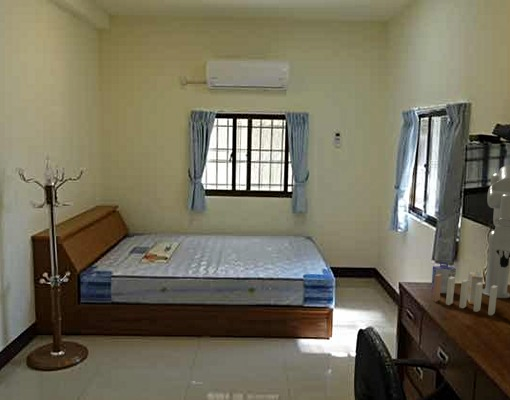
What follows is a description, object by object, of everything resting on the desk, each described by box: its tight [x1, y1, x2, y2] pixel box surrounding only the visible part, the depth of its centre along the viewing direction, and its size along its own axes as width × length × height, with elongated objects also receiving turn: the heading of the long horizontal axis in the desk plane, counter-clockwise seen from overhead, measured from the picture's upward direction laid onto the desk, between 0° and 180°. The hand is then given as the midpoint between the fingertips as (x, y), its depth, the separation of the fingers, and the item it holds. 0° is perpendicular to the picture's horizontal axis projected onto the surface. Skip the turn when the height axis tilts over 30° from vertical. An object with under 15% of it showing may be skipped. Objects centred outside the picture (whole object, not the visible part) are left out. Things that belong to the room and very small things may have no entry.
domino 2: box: [445, 276, 456, 306], centre depth 233 cm, size 4×2×12 cm, turn 140°
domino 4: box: [472, 282, 484, 313], centre depth 225 cm, size 4×2×12 cm, turn 140°
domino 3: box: [458, 278, 469, 309], centre depth 229 cm, size 4×2×12 cm, turn 140°
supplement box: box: [467, 271, 484, 305], centre depth 237 cm, size 8×5×13 cm, turn 168°
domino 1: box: [431, 274, 442, 303], centre depth 237 cm, size 4×2×12 cm, turn 139°
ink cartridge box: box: [430, 261, 457, 294], centre depth 250 cm, size 10×6×14 cm, turn 89°
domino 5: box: [487, 285, 498, 316], centre depth 221 cm, size 4×2×12 cm, turn 140°
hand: (503, 266), depth 217 cm, fingers closed
